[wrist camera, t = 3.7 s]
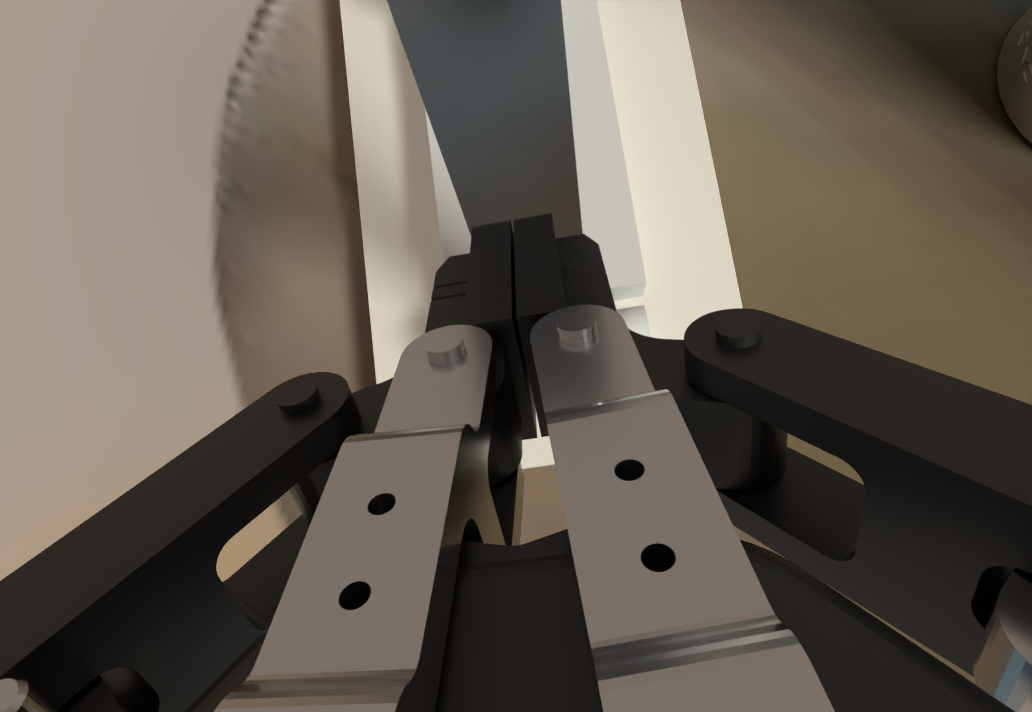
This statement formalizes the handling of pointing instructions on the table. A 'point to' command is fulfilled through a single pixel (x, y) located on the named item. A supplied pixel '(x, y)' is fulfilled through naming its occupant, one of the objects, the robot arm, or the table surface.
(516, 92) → the bar
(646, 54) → the stand
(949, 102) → the table surface
